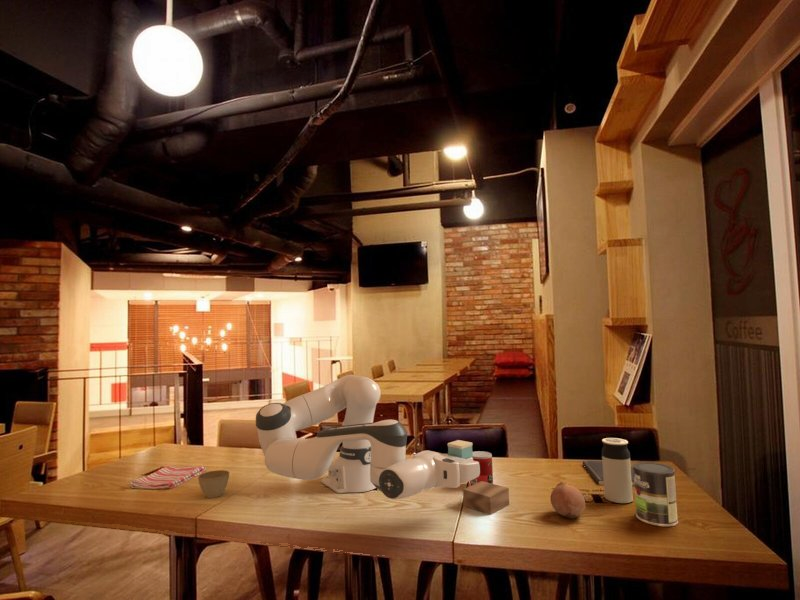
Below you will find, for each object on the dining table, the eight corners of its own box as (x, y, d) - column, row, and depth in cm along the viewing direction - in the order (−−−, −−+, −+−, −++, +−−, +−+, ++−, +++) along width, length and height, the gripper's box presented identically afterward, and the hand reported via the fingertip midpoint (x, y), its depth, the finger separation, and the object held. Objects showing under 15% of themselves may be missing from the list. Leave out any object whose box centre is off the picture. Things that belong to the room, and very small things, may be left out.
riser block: (463, 505, 136) (462, 489, 137) (482, 496, 143) (481, 481, 144) (490, 514, 129) (490, 497, 129) (509, 504, 136) (508, 488, 136)
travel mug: (605, 502, 135) (602, 442, 137) (603, 493, 143) (600, 437, 144) (634, 505, 133) (630, 444, 134) (631, 496, 140) (627, 438, 142)
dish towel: (127, 490, 161) (127, 480, 162) (170, 470, 184) (170, 462, 185) (169, 491, 159) (170, 481, 159) (207, 471, 182) (207, 462, 182)
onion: (559, 521, 130) (549, 485, 135) (592, 516, 127) (580, 479, 132) (553, 521, 122) (543, 483, 128) (587, 516, 119) (576, 477, 124)
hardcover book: (626, 467, 171) (625, 461, 171) (648, 488, 148) (648, 481, 148) (582, 466, 174) (582, 460, 174) (598, 486, 151) (597, 479, 151)
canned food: (493, 490, 148) (491, 457, 149) (469, 489, 150) (468, 456, 151) (493, 483, 156) (491, 451, 157) (470, 482, 158) (469, 450, 158)
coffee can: (651, 528, 117) (647, 473, 118) (628, 512, 128) (625, 462, 129) (687, 525, 118) (683, 471, 119) (662, 510, 128) (658, 461, 130)
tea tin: (448, 478, 129) (447, 443, 130) (459, 474, 132) (458, 439, 133) (462, 482, 125) (461, 446, 126) (473, 477, 129) (472, 442, 129)
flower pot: (235, 491, 155) (235, 470, 156) (215, 502, 146) (215, 480, 146) (212, 489, 158) (212, 468, 159) (191, 499, 149) (191, 477, 149)
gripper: (404, 473, 127) (436, 462, 137) (461, 489, 113) (491, 476, 122) (404, 450, 128) (435, 441, 137) (460, 464, 113) (490, 453, 123)
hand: (462, 458), depth 130 cm, fingers closed on tea tin, 5 cm apart
